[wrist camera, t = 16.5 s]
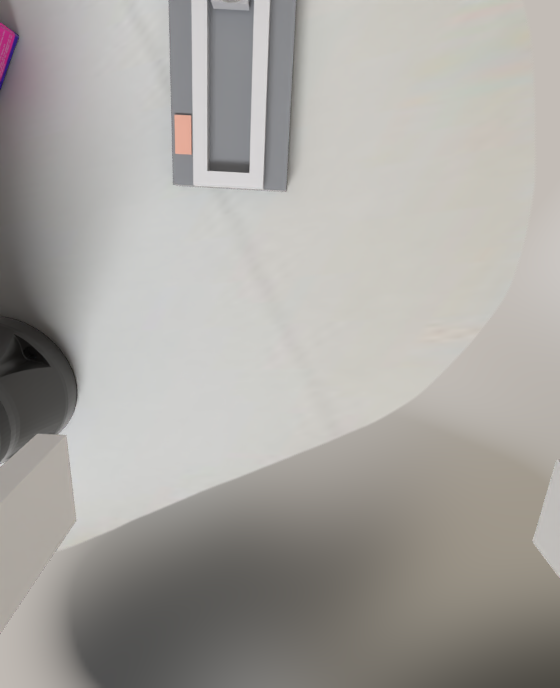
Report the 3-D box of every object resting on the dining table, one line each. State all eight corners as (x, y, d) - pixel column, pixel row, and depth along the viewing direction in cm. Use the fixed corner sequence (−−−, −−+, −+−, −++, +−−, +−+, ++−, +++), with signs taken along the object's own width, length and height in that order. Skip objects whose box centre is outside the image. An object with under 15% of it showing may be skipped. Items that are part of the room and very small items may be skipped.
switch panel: (286, 191, 39) (286, 190, 36) (178, 185, 39) (170, 183, 36) (300, -79, 33) (301, -108, 30) (173, -87, 33) (162, -115, 30)
